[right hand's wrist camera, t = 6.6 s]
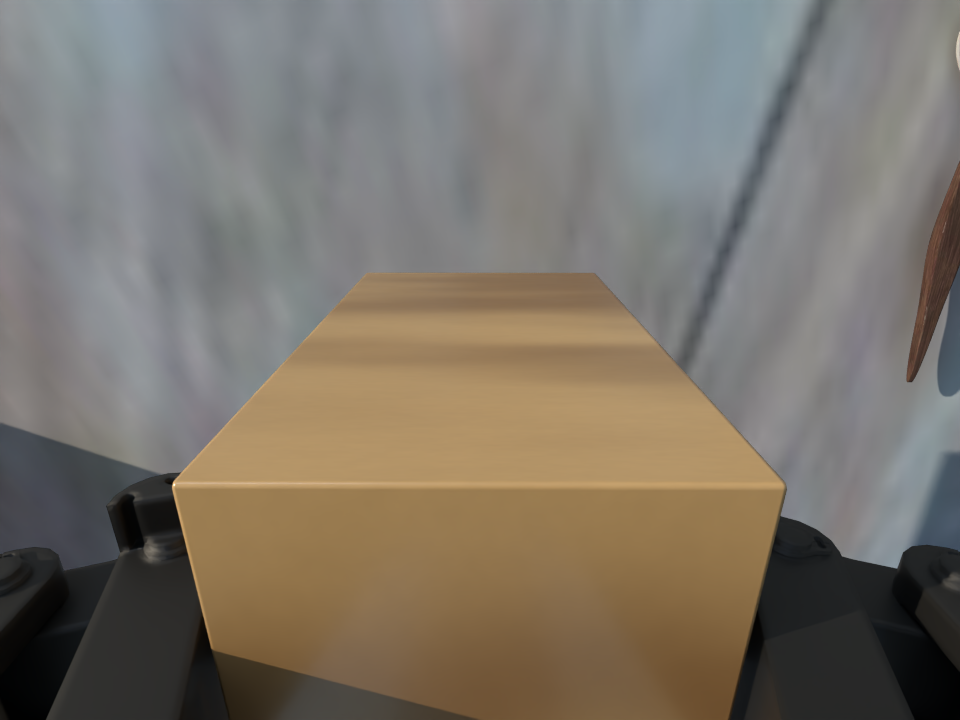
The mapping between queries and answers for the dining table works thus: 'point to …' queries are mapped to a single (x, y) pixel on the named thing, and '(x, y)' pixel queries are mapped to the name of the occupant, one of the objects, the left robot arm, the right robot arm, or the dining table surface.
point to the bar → (479, 516)
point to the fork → (937, 269)
